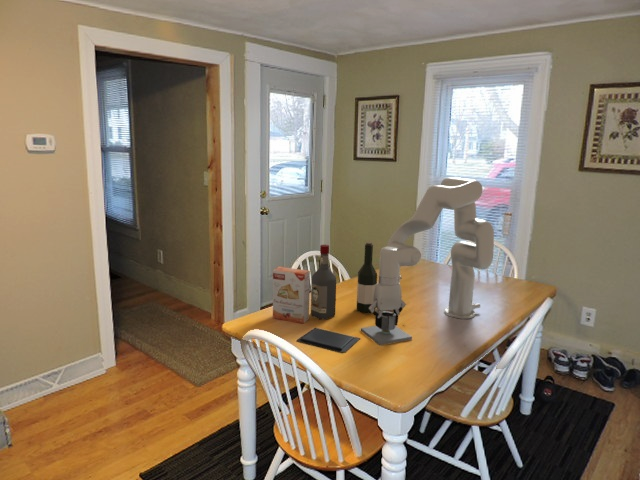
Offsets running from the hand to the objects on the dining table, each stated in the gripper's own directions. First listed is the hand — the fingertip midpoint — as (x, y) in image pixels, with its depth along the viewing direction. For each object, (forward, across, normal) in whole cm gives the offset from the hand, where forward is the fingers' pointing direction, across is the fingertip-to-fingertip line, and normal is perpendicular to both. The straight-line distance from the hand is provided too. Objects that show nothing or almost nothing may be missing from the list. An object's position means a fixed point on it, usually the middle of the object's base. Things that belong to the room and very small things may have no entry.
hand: (386, 325), depth 179 cm
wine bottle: (+4, -6, -26) cm, 27 cm away
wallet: (+5, +22, -4) cm, 23 cm away
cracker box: (+4, +28, -28) cm, 40 cm away
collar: (+1, 0, 0) cm, 1 cm away
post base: (+4, 0, 0) cm, 4 cm away
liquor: (+4, +14, -27) cm, 31 cm away
